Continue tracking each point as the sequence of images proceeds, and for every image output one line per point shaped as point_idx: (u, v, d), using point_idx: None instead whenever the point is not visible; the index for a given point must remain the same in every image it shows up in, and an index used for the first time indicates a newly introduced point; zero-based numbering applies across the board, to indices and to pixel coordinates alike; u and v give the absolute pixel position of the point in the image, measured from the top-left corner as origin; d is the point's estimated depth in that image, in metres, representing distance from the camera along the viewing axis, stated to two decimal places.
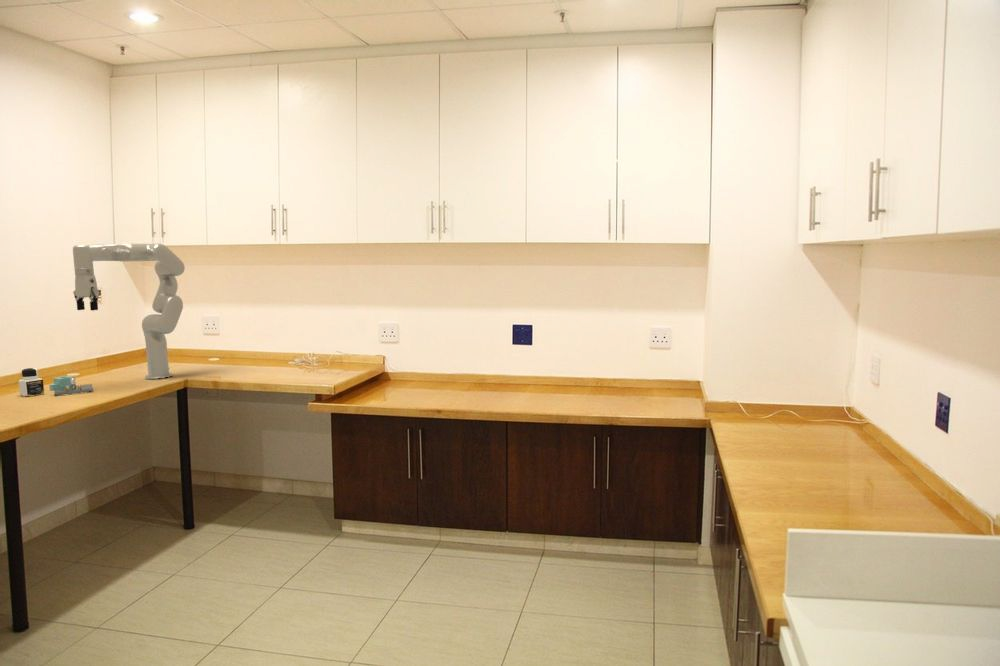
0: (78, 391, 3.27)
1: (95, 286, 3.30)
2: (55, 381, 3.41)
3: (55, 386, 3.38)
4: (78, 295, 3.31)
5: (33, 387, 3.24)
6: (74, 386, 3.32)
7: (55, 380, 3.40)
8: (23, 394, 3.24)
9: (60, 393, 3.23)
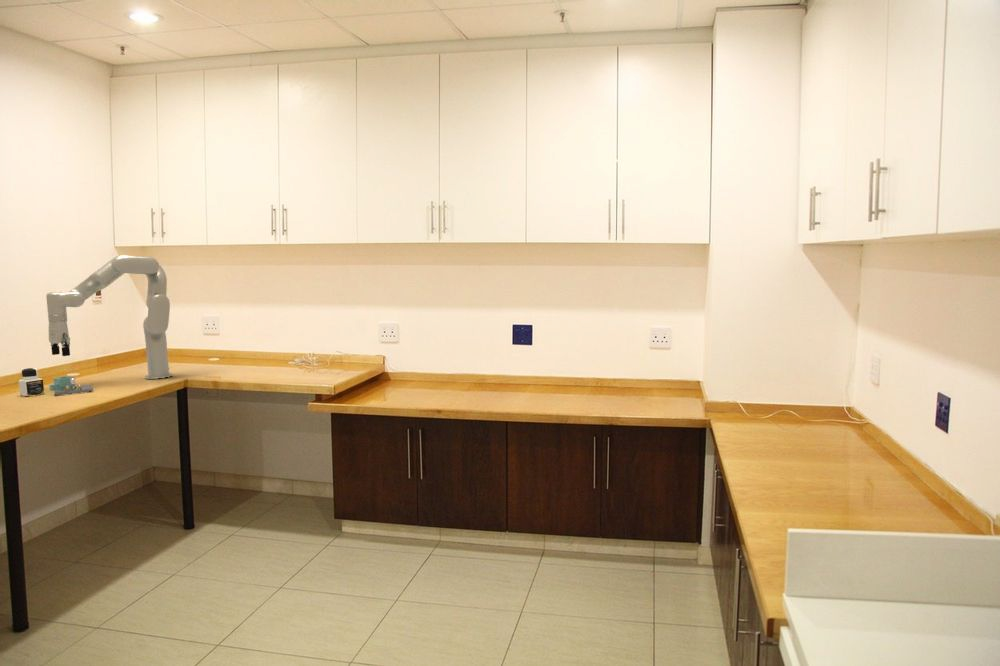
0: (78, 391, 3.27)
1: None
2: (55, 381, 3.41)
3: (55, 386, 3.38)
4: None
5: (33, 387, 3.24)
6: (74, 386, 3.32)
7: (55, 380, 3.40)
8: (23, 394, 3.24)
9: (60, 393, 3.23)
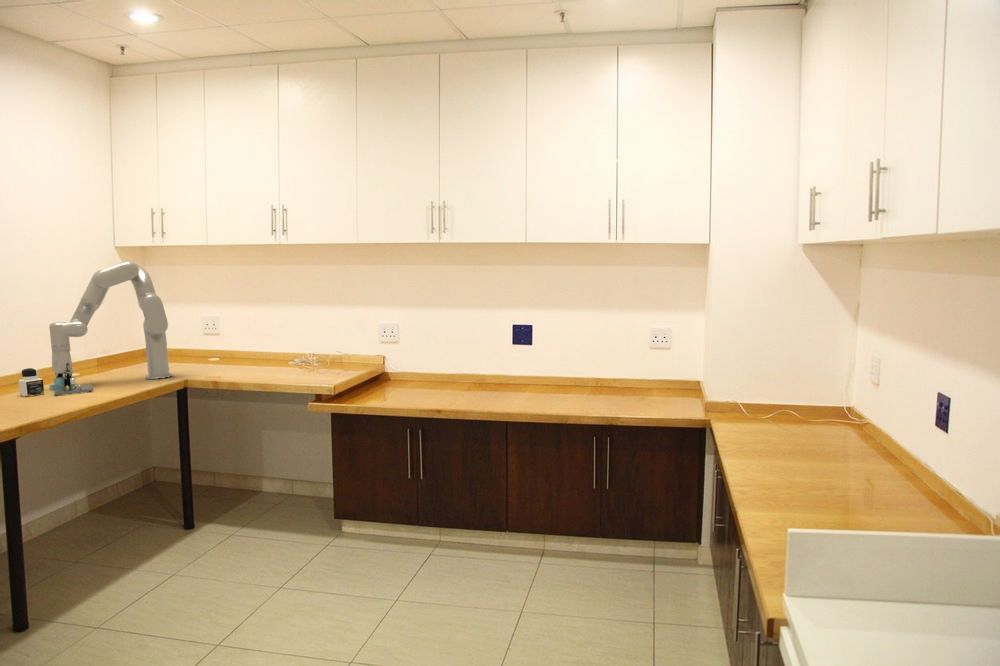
0: (78, 391, 3.27)
1: None
2: (55, 381, 3.41)
3: (55, 386, 3.38)
4: None
5: (33, 387, 3.24)
6: (74, 386, 3.32)
7: (55, 380, 3.40)
8: (23, 394, 3.24)
9: (60, 393, 3.23)
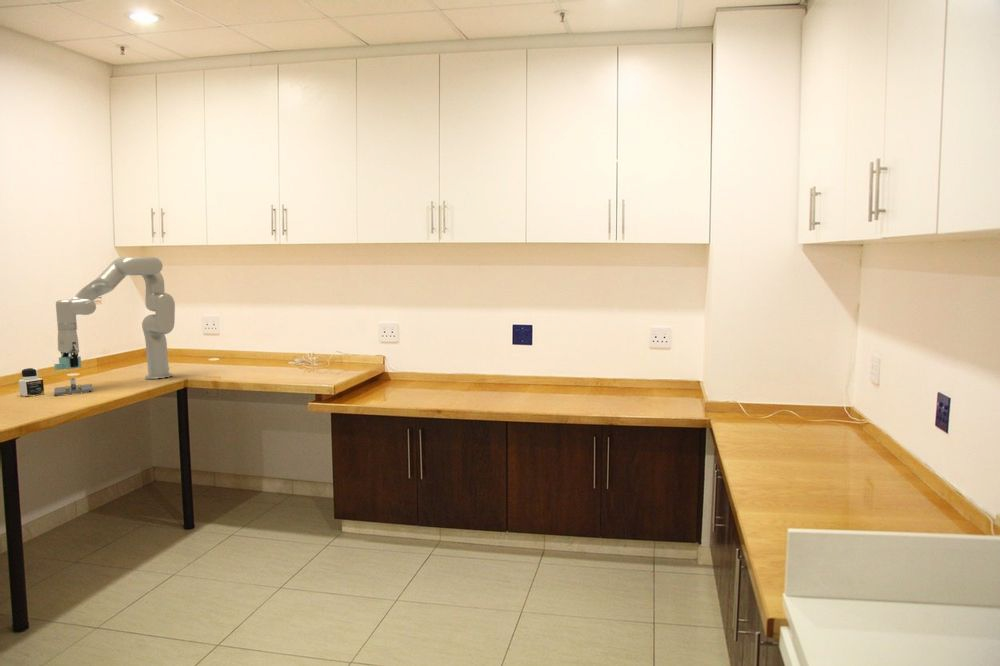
0: (78, 391, 3.27)
1: None
2: (60, 361, 3.29)
3: (60, 365, 3.27)
4: None
5: (33, 387, 3.24)
6: (74, 386, 3.32)
7: (61, 360, 3.29)
8: (23, 394, 3.24)
9: (60, 393, 3.23)
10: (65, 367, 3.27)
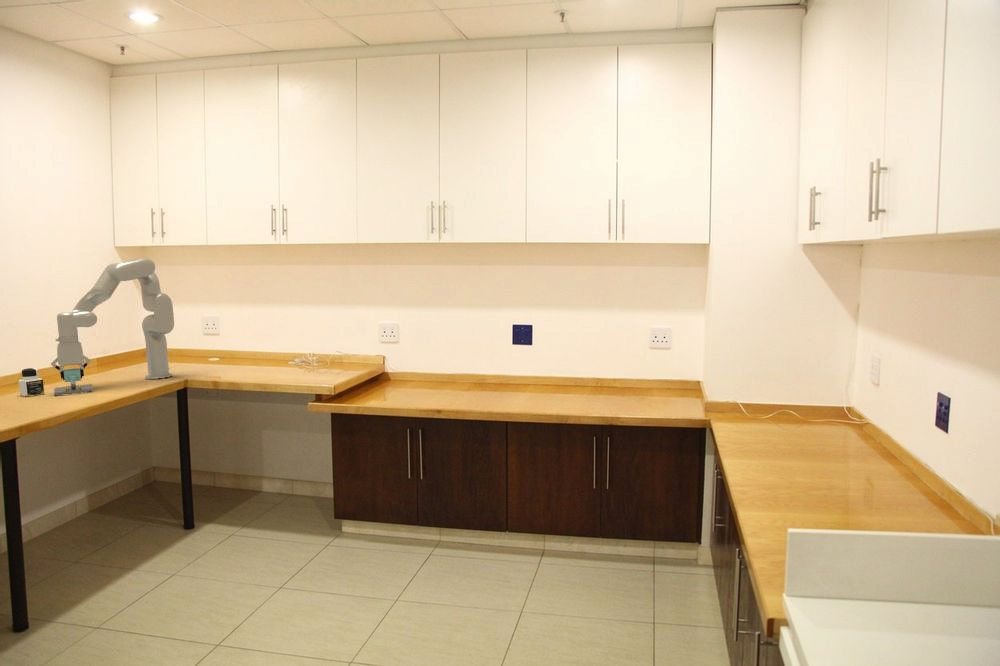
0: (78, 391, 3.27)
1: (57, 355, 3.27)
2: (67, 374, 3.28)
3: (75, 378, 3.28)
4: None
5: (33, 387, 3.24)
6: (74, 386, 3.32)
7: (68, 373, 3.28)
8: (23, 394, 3.24)
9: (60, 393, 3.23)
10: (78, 379, 3.30)
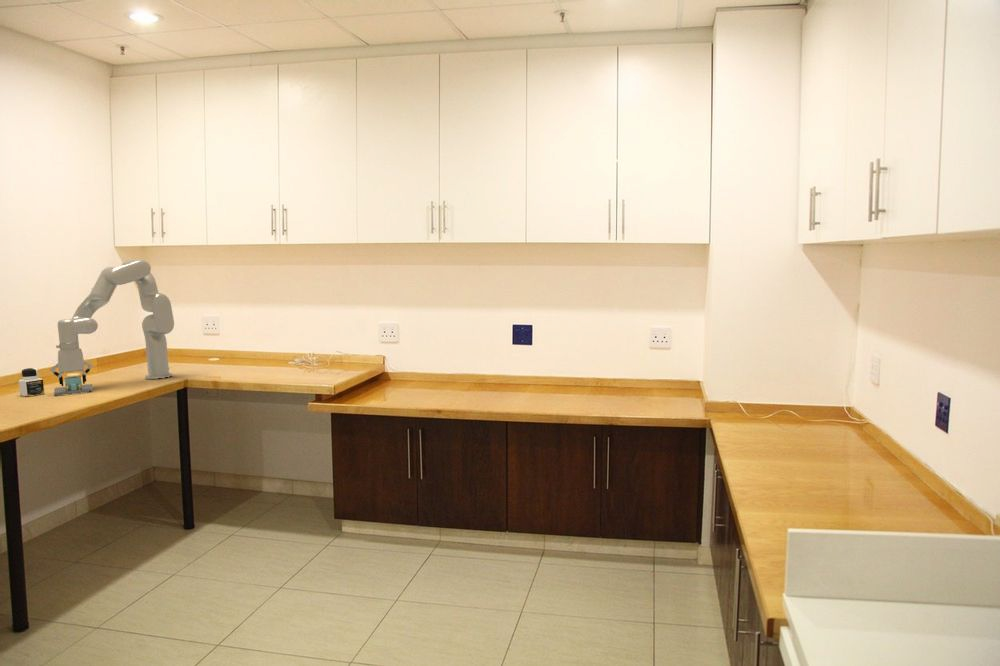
0: (78, 391, 3.27)
1: (58, 362, 3.27)
2: (68, 382, 3.28)
3: (76, 385, 3.29)
4: None
5: (33, 387, 3.24)
6: None
7: (69, 381, 3.29)
8: (23, 394, 3.24)
9: (60, 393, 3.23)
10: None
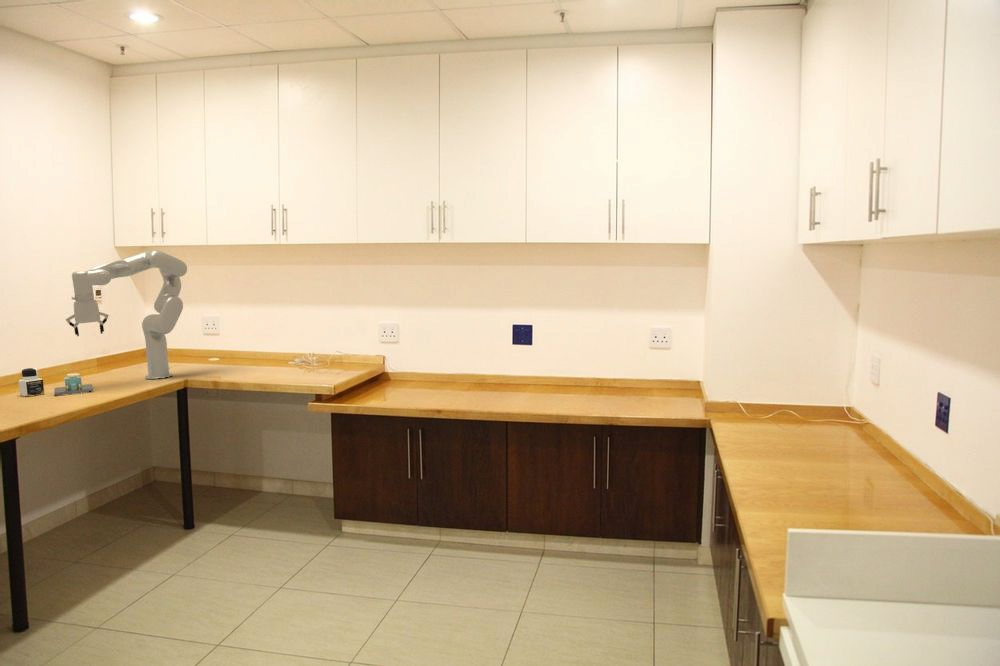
0: (78, 391, 3.27)
1: (74, 313, 3.32)
2: (68, 382, 3.28)
3: (76, 385, 3.29)
4: None
5: (33, 387, 3.24)
6: None
7: (69, 381, 3.29)
8: (23, 394, 3.24)
9: (60, 393, 3.23)
10: None
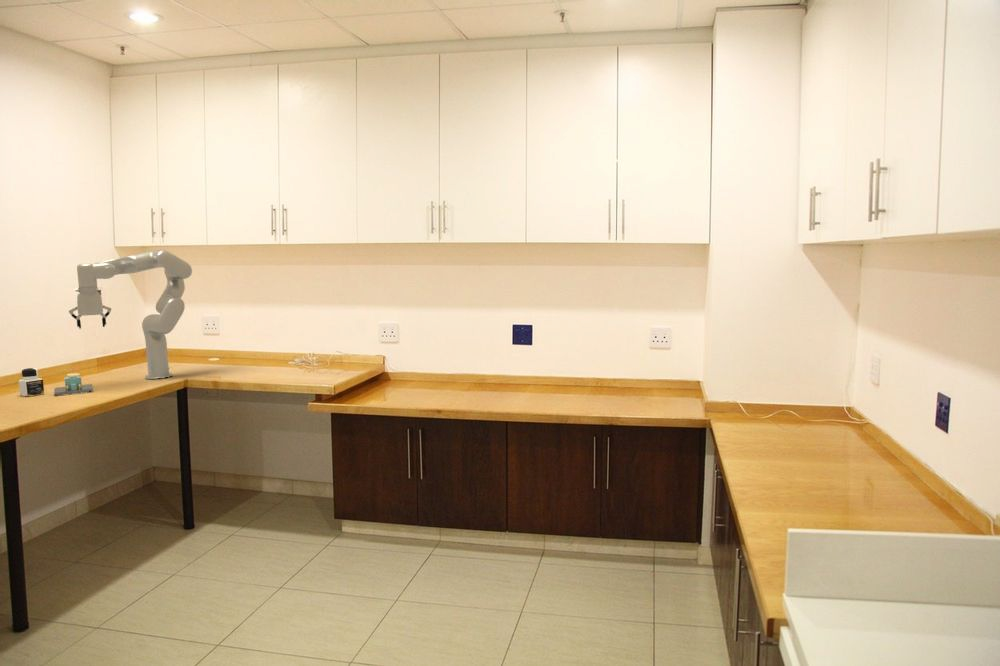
0: (78, 391, 3.27)
1: (77, 305, 3.33)
2: (68, 382, 3.28)
3: (76, 385, 3.29)
4: None
5: (33, 387, 3.24)
6: None
7: (69, 381, 3.29)
8: (23, 394, 3.24)
9: (60, 393, 3.23)
10: None
